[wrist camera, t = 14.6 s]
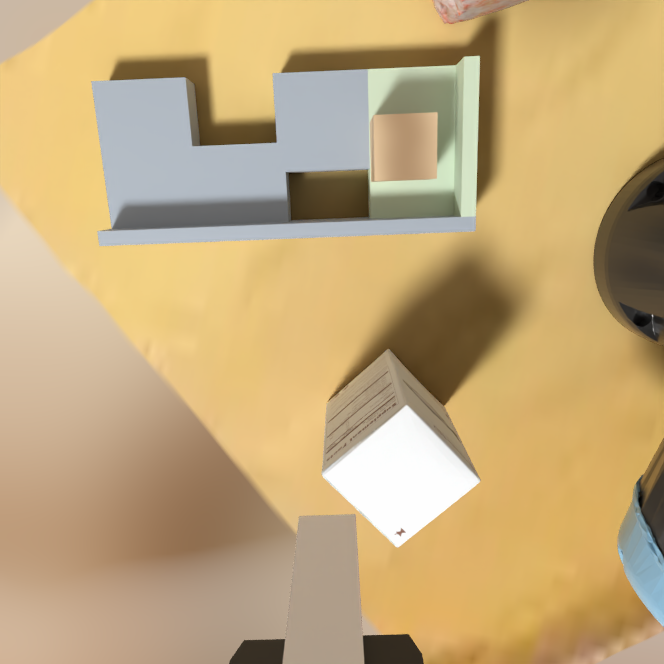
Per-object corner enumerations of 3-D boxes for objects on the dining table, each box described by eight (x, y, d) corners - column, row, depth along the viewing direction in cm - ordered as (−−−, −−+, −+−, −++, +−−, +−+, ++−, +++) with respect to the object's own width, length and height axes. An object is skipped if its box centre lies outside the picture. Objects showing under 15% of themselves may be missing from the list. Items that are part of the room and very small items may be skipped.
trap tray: (126, 239, 43) (99, 246, 38) (106, 87, 40) (74, 73, 35) (459, 226, 42) (475, 231, 37) (462, 72, 40) (480, 55, 35)
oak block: (427, 120, 38) (437, 112, 34) (426, 179, 39) (436, 178, 35) (369, 122, 38) (373, 114, 34) (370, 181, 39) (374, 181, 35)
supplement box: (446, 406, 46) (486, 484, 34) (380, 459, 47) (396, 553, 35) (389, 344, 45) (408, 402, 33) (322, 401, 46) (317, 477, 34)
